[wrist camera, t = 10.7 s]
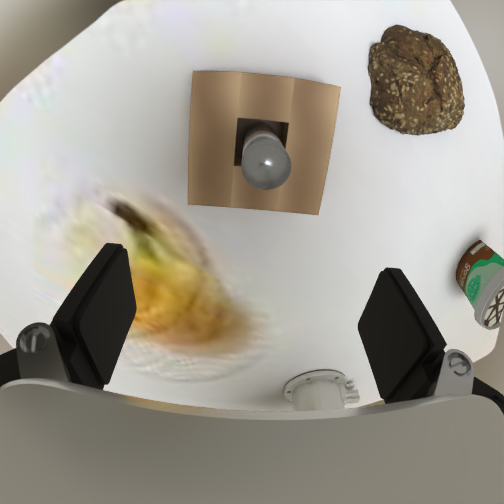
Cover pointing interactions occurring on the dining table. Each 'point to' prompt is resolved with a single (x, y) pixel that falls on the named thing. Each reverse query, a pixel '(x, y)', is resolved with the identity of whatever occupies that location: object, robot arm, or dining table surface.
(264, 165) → the pin
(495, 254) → the food container
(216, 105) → the bore block
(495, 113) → the dining table surface
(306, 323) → the dining table surface
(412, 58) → the bread roll
